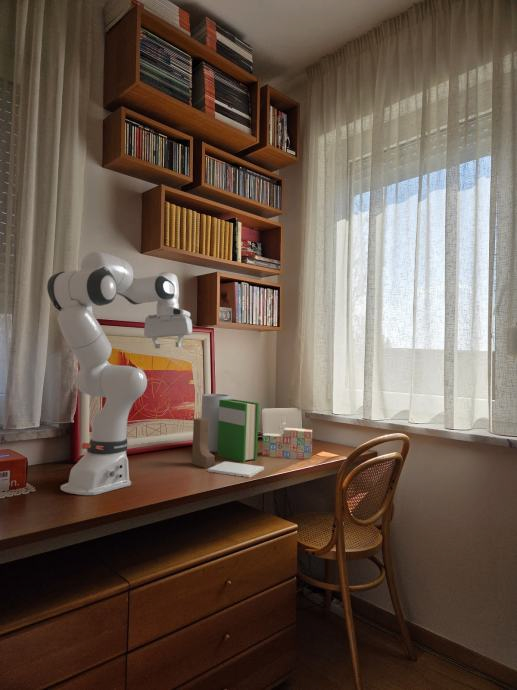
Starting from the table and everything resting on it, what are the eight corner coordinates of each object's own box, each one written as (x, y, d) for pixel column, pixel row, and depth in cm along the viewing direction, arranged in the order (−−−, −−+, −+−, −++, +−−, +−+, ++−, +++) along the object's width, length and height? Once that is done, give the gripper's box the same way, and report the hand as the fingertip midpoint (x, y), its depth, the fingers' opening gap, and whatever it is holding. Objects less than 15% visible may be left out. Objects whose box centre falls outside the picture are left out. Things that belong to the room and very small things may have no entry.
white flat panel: (249, 477, 165) (249, 474, 165) (207, 471, 171) (207, 468, 171) (264, 469, 177) (264, 466, 177) (224, 463, 184) (224, 461, 184)
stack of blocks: (261, 456, 201) (262, 428, 201) (264, 453, 207) (265, 426, 208) (310, 460, 197) (311, 431, 198) (311, 457, 203) (312, 429, 204)
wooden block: (214, 467, 178) (216, 420, 179) (205, 468, 175) (207, 421, 176) (200, 462, 185) (202, 417, 185) (191, 464, 182) (193, 418, 182)
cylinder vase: (226, 452, 205) (228, 396, 205) (198, 451, 205) (200, 395, 205) (228, 447, 217) (230, 394, 218) (201, 446, 217) (203, 393, 218)
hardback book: (256, 460, 192) (258, 403, 193) (243, 462, 187) (245, 403, 188) (230, 452, 206) (232, 399, 206) (217, 454, 201) (219, 399, 201)
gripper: (141, 314, 185) (140, 348, 183) (186, 309, 178) (186, 345, 176) (149, 317, 190) (149, 350, 189) (193, 312, 184) (194, 346, 182)
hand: (167, 347), depth 182 cm, fingers open, 8 cm apart
